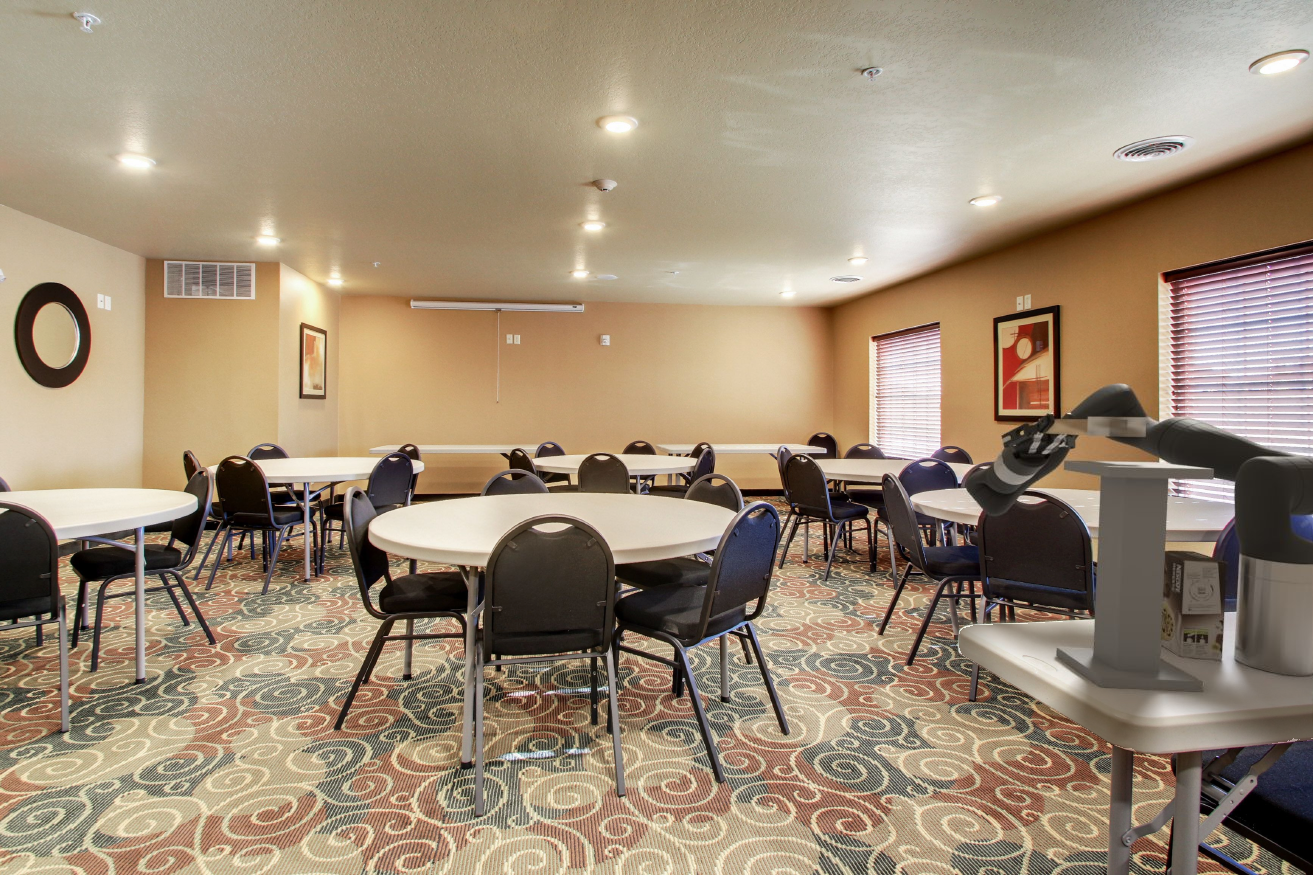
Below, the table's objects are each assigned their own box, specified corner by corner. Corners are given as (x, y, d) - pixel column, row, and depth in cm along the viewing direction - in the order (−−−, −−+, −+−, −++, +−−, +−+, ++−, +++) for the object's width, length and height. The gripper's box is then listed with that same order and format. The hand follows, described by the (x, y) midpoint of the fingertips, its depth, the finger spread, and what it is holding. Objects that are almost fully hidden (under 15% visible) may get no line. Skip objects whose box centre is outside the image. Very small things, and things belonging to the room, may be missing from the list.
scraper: (1067, 433, 123) (1068, 417, 123) (1145, 436, 101) (1146, 417, 101) (1023, 432, 123) (1023, 416, 123) (1090, 436, 101) (1091, 416, 101)
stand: (1146, 659, 106) (1155, 462, 104) (1202, 691, 94) (1213, 468, 92) (1056, 656, 107) (1064, 460, 105) (1100, 686, 95) (1109, 466, 93)
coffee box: (1224, 661, 106) (1229, 562, 105) (1179, 657, 107) (1184, 559, 106) (1190, 641, 115) (1195, 550, 114) (1149, 638, 116) (1153, 548, 115)
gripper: (1060, 477, 130) (1107, 436, 115) (988, 476, 132) (1025, 435, 116) (1052, 444, 134) (1096, 400, 119) (981, 443, 135) (1016, 399, 120)
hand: (1060, 417), depth 118 cm, fingers closed on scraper, 2 cm apart
